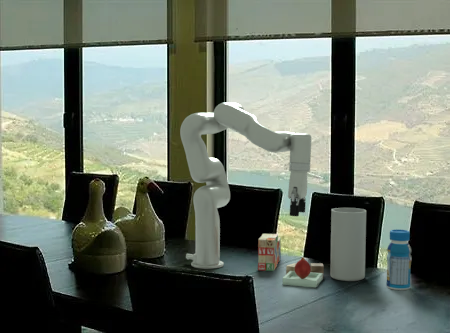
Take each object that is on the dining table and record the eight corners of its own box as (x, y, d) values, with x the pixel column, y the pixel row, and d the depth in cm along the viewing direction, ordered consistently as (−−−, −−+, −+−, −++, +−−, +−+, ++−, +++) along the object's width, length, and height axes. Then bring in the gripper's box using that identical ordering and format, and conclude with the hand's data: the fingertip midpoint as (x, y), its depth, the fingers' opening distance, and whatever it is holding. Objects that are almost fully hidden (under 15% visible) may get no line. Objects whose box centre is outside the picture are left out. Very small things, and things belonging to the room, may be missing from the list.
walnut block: (311, 278, 265) (311, 265, 264) (310, 275, 269) (310, 263, 269) (323, 278, 264) (323, 266, 264) (322, 275, 269) (322, 263, 268)
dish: (282, 284, 254) (282, 277, 254) (290, 277, 265) (290, 270, 265) (316, 287, 250) (316, 280, 250) (322, 279, 261) (322, 273, 261)
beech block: (286, 276, 267) (286, 265, 267) (294, 273, 272) (294, 263, 271) (295, 277, 265) (295, 267, 264) (303, 275, 269) (303, 264, 269)
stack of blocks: (265, 259, 297) (266, 229, 296) (280, 259, 296) (281, 230, 295) (257, 270, 276) (258, 238, 275) (274, 271, 275) (274, 239, 274)
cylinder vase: (368, 275, 268) (369, 209, 266) (359, 283, 257) (361, 213, 255) (335, 272, 273) (337, 207, 271) (326, 279, 262) (327, 211, 260)
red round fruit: (293, 277, 261) (293, 255, 260) (308, 277, 261) (309, 255, 260) (296, 281, 255) (296, 258, 254) (312, 281, 255) (312, 258, 255)
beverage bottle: (396, 291, 245) (398, 233, 243) (380, 286, 253) (382, 229, 251) (415, 289, 249) (417, 231, 247) (399, 283, 256) (401, 228, 255)
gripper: (295, 164, 270) (293, 209, 272) (283, 168, 254) (281, 216, 256) (315, 166, 268) (312, 211, 269) (304, 170, 251) (301, 218, 253)
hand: (297, 214), depth 263 cm, fingers open, 9 cm apart
